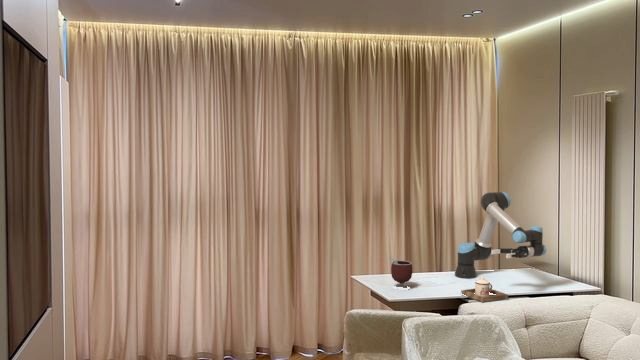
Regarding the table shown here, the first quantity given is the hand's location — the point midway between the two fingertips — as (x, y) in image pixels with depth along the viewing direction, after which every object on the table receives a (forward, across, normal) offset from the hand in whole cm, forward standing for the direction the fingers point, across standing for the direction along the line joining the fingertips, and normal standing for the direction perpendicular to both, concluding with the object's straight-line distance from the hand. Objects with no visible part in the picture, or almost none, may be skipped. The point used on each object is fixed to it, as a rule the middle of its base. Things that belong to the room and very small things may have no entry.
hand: (499, 254), depth 380 cm
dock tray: (+12, -1, -26) cm, 29 cm away
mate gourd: (+48, +39, -26) cm, 67 cm away
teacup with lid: (+12, -1, -26) cm, 28 cm away
